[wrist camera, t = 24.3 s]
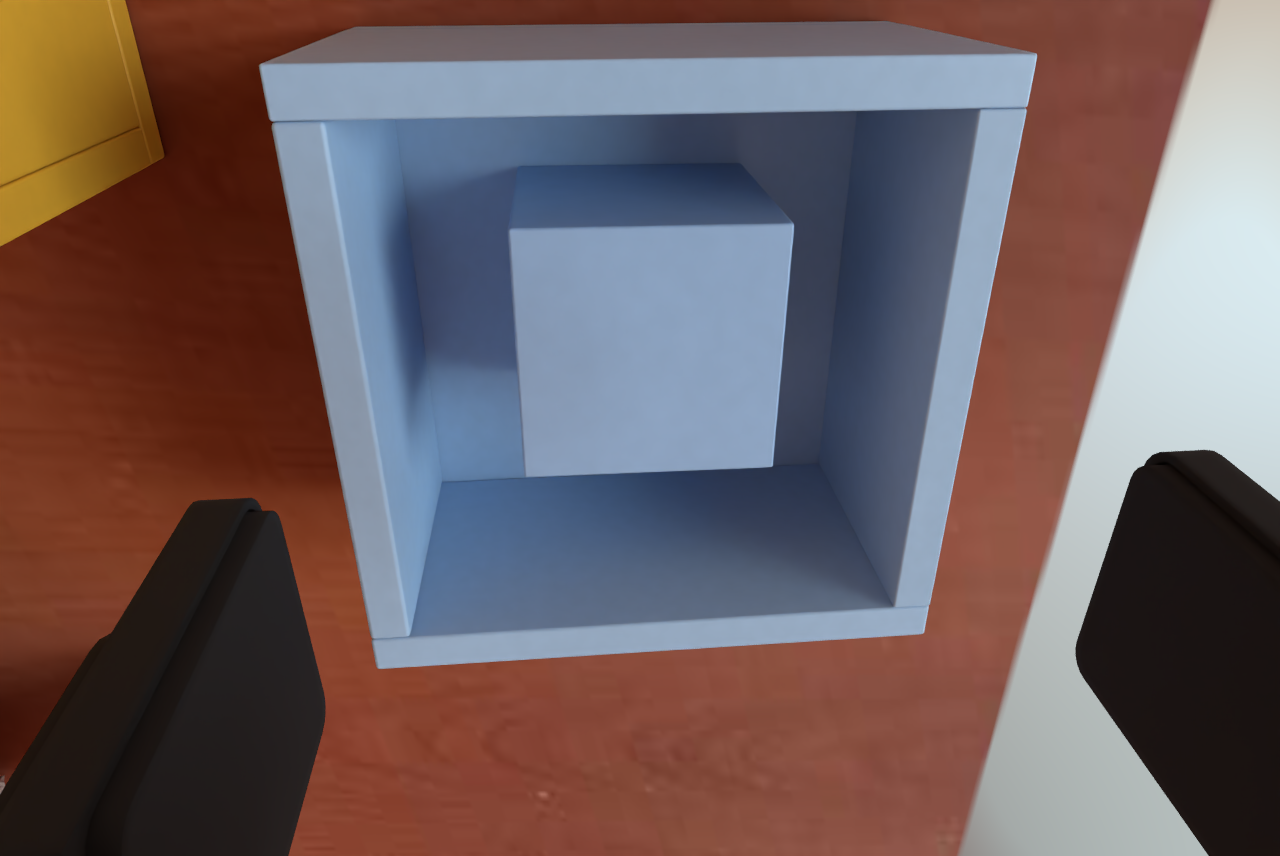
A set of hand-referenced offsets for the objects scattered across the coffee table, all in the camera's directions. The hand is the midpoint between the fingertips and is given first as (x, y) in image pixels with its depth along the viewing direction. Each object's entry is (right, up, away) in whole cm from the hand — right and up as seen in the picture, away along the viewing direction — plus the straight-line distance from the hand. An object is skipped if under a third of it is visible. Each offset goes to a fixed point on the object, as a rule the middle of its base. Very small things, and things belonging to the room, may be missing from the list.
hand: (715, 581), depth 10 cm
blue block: (-1, +5, +11) cm, 12 cm away
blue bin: (-1, +5, +12) cm, 13 cm away
